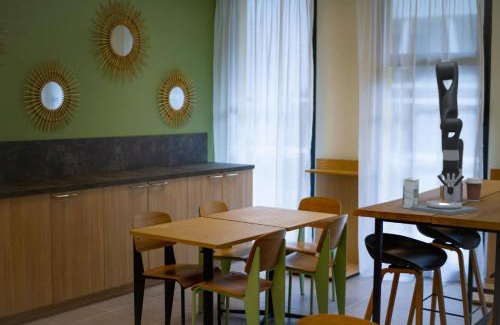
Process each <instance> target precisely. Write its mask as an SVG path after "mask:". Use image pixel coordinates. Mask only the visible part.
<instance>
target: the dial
mask: <svg viewBox="0 0 500 325" xmlns="http://www.w3.org/2000/svg"><path fill="white" fill-rule="evenodd" d="M426 205H427V207H430V208H439V209H458V208H462V206H463V202H462V201H446V200H445V199H444V185H443V184H442V185H441V184H440V185H439V200H427V201H426Z"/></svg>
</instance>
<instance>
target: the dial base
mask: <svg viewBox="0 0 500 325" xmlns="http://www.w3.org/2000/svg"><path fill="white" fill-rule="evenodd" d="M410 211H417V212H425V213H432V214H440V215H446V216H447V215H448V216H454V215H460V214H465V213H467V214H468V213H474V212H478V211H479V208H478V207H472V206H466V205H464V206H463V205H462V208H458V209H439V208H430V207H427V204H421V205H418V206H411V207H410Z"/></svg>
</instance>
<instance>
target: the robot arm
mask: <svg viewBox="0 0 500 325" xmlns="http://www.w3.org/2000/svg"><path fill="white" fill-rule="evenodd" d="M434 68H435V78H436V85H437V91H438V92H437V93H438V94H437V95H438V107H439V108H438V110H439V118H440V123H439V129H440V131H441V134H440V135H441V138H440V139H441V152H442V170H441V173H440V174H437V176H436V177H437V178H438V180H439V181H440V182H441V184H442V186H444V199H445V200H446V201H456V202H462V201H463V200H464V199H463V197H464V196H463V194H464V193H463V192H464V190H463V189H464V184H463V179H464V175H463V161H464V146H465V145H464V144H465V143H464V140H463V138H460V136H461V132H462V130H463V126H464V125H463V124H464V122H463V119H461V118H459V117H458V116H459V107H458V106H459V105H458V92H459V80H460V79H459V77H460V76H459V75H460V74H459V73H460V71H459V65H458V62H457V61H455V60H454V61H452V60H451V61H444V62H436V64H435V67H434ZM444 81H451V84H450V86H449V88H448V89H447V87H446V85H445V83H444ZM450 133H452V134H453V136H450V137H449V134H450Z"/></svg>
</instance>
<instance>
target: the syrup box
mask: <svg viewBox="0 0 500 325" xmlns="http://www.w3.org/2000/svg"><path fill="white" fill-rule="evenodd" d="M402 183H403V184H402V208H403V209H410V207H411V206H419V193H420V179H419V178H415V177H407V178H403V182H402Z"/></svg>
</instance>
